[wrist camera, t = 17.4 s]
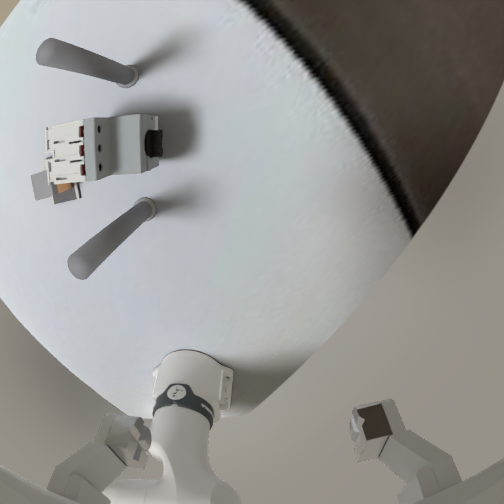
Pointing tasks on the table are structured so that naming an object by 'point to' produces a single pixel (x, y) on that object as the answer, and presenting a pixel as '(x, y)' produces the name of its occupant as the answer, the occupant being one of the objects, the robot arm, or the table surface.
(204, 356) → the robot arm
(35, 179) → the orange and grey block
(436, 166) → the table surface
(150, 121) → the circuit breaker
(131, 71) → the cord posts
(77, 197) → the mat
